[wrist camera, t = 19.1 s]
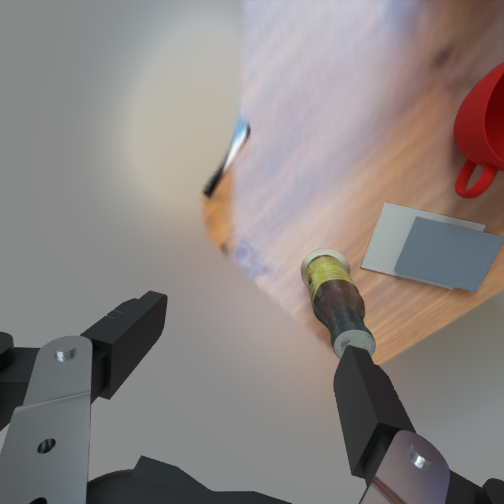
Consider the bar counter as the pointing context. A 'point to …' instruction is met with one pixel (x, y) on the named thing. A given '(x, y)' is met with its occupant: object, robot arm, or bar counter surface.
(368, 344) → the sauce bottle
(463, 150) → the ceramic cup
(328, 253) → the coaster
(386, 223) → the mat
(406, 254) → the tile
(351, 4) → the bar counter surface
